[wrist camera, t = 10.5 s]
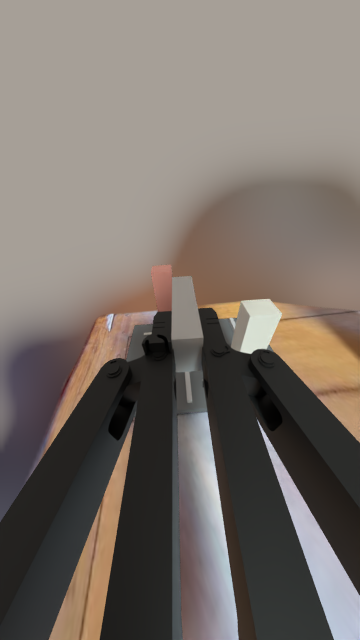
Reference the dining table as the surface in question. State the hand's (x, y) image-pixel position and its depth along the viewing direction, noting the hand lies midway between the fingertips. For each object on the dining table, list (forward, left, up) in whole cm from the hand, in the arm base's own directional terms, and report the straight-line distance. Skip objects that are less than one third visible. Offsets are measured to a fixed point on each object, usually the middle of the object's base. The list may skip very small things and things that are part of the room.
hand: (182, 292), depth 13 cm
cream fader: (-9, -3, -20) cm, 22 cm away
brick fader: (+3, -17, -20) cm, 26 cm away
